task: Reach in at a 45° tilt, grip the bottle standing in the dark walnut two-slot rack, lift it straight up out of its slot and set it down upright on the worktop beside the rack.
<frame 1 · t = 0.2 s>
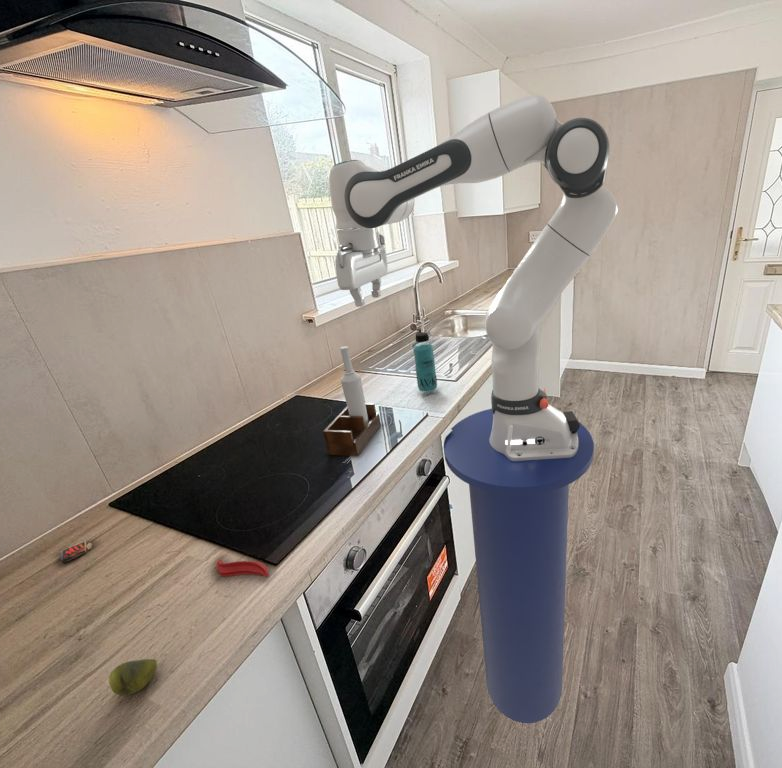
hand: (368, 301, 100), 36 cm above the worktop, tool pointing down, fingers open, 8 cm apart
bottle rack: (356, 439, 112), on the worktop
cayenne pepper: (241, 570, 73), on the worktop
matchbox: (77, 552, 81), on the worktop
bottle: (362, 432, 115), resting in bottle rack
olive green oval lump: (141, 686, 56), on the worktop
beverage bottle: (428, 392, 136), on the worktop
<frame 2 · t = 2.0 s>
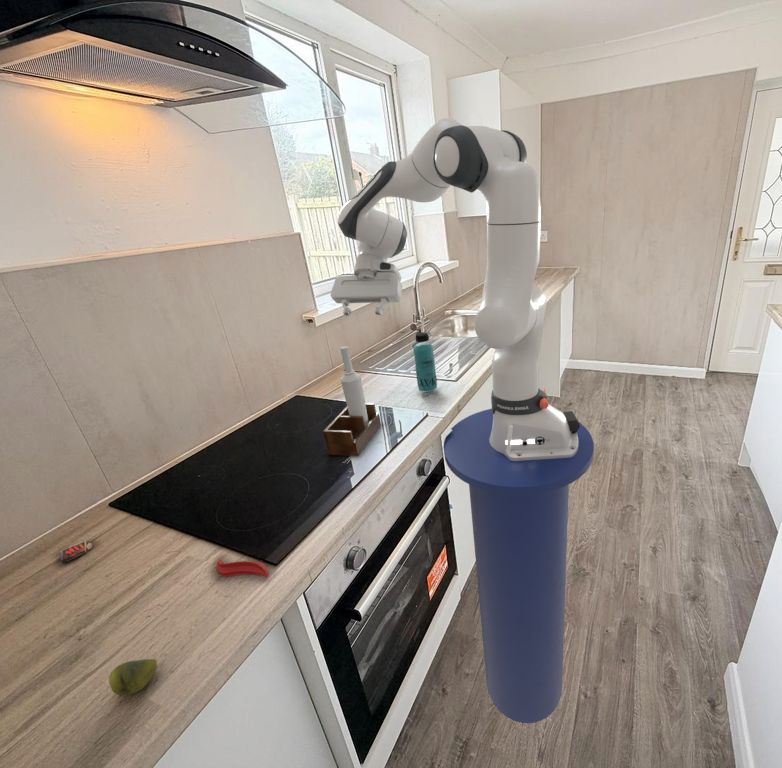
hand: (362, 314, 114), 30 cm above the worktop, tool tilted 45°, fingers open, 8 cm apart
nothing on the worktop moved.
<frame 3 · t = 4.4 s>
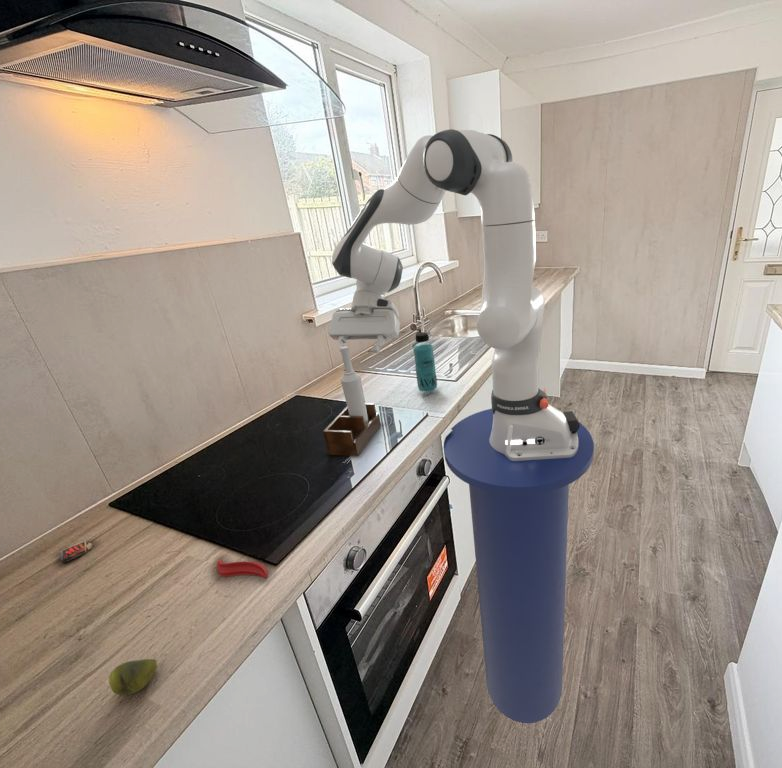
hand: (359, 352, 113), 21 cm above the worktop, tool tilted 45°, fingers open, 8 cm apart
nothing on the worktop moved.
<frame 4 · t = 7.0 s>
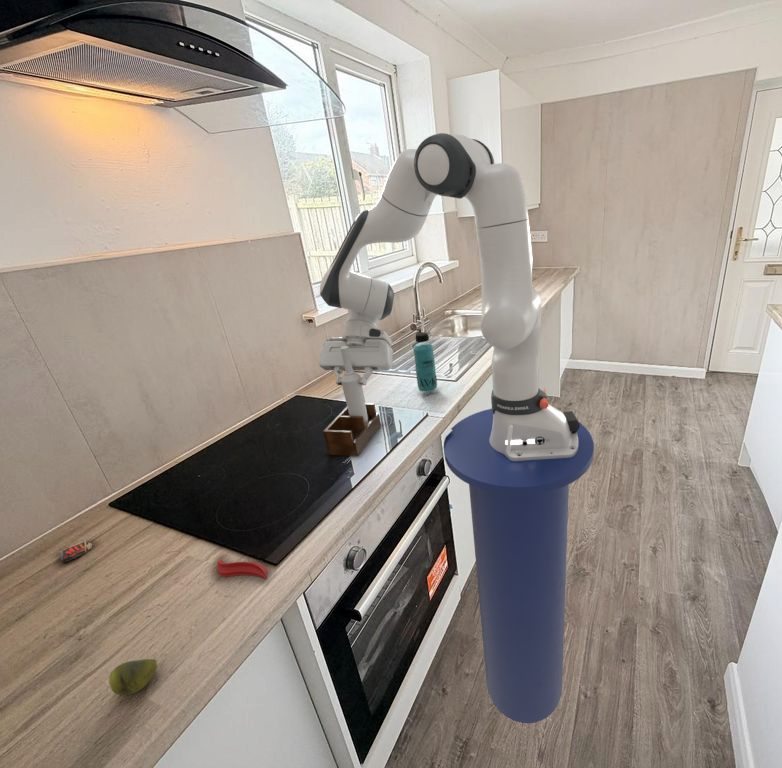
hand: (350, 384, 108), 15 cm above the worktop, tool tilted 45°, fingers closed on bottle, 5 cm apart
bottle: (362, 432, 115), resting in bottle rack, touching gripper
everything else where it was.
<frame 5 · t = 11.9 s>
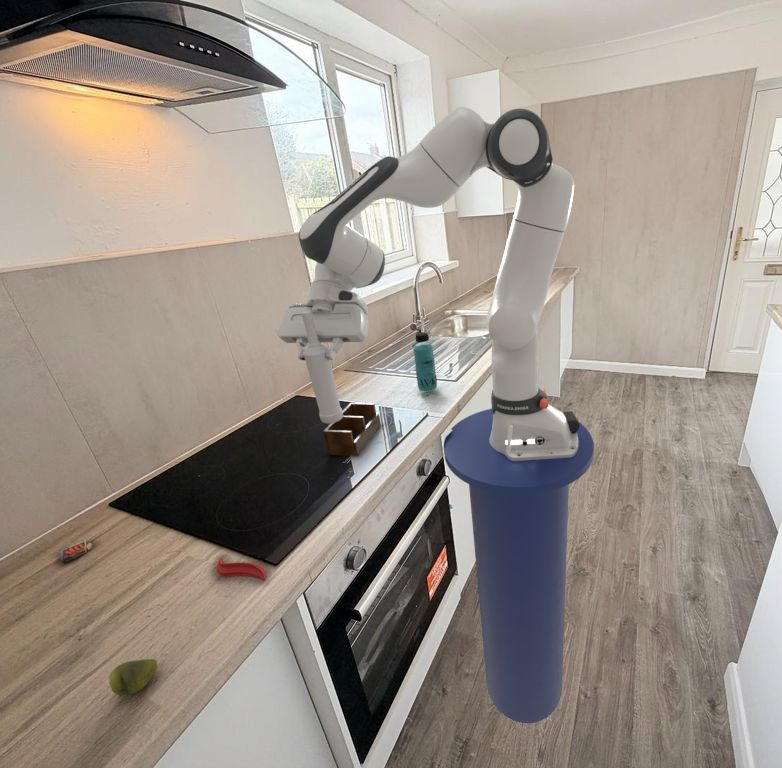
hand: (316, 359, 88), 28 cm above the worktop, tool tilted 45°, fingers closed on bottle, 5 cm apart
bottle: (332, 419, 95), point 13 cm above the worktop, touching gripper
everything else where it was.
when the fingers open (15 cm above the worktop, at t = 16.7 s): bottle stays where it is, on the worktop.
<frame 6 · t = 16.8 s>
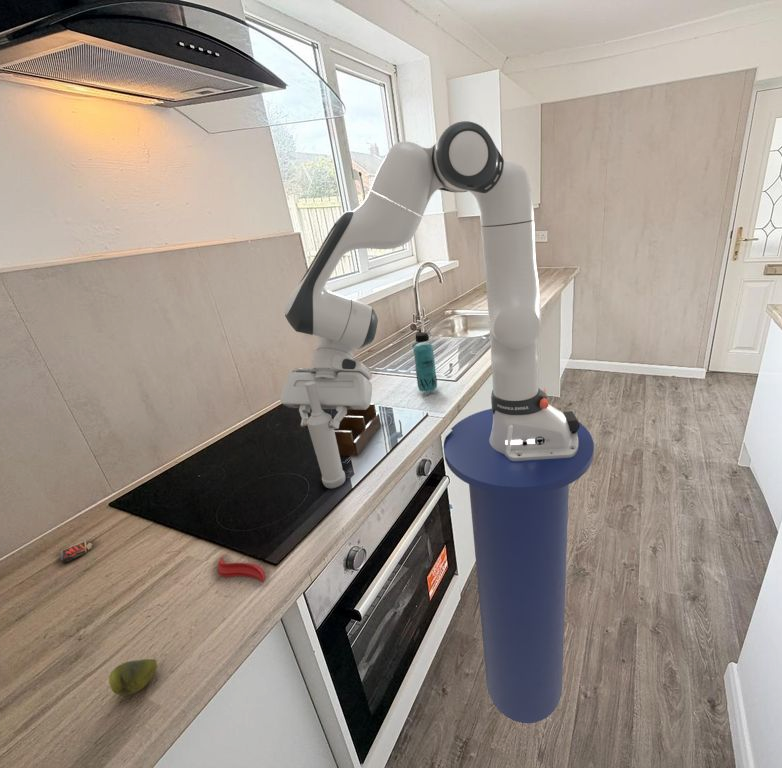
hand: (319, 427, 88), 15 cm above the worktop, tool tilted 45°, fingers open, 5 cm apart
bottle: (334, 482, 95), on the worktop
everything else where it was.
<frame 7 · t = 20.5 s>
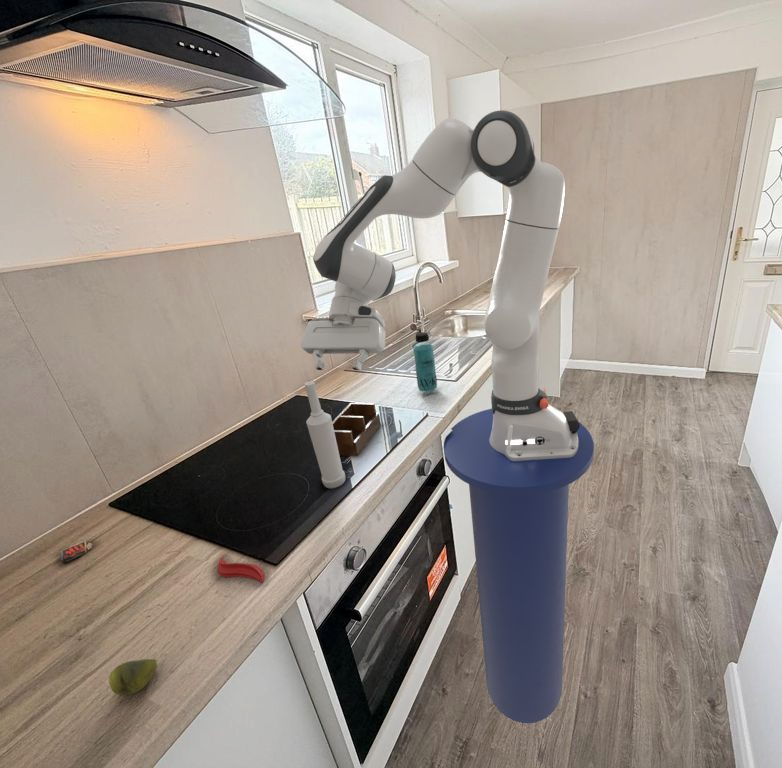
hand: (337, 369, 96), 23 cm above the worktop, tool tilted 45°, fingers open, 8 cm apart
nothing on the worktop moved.
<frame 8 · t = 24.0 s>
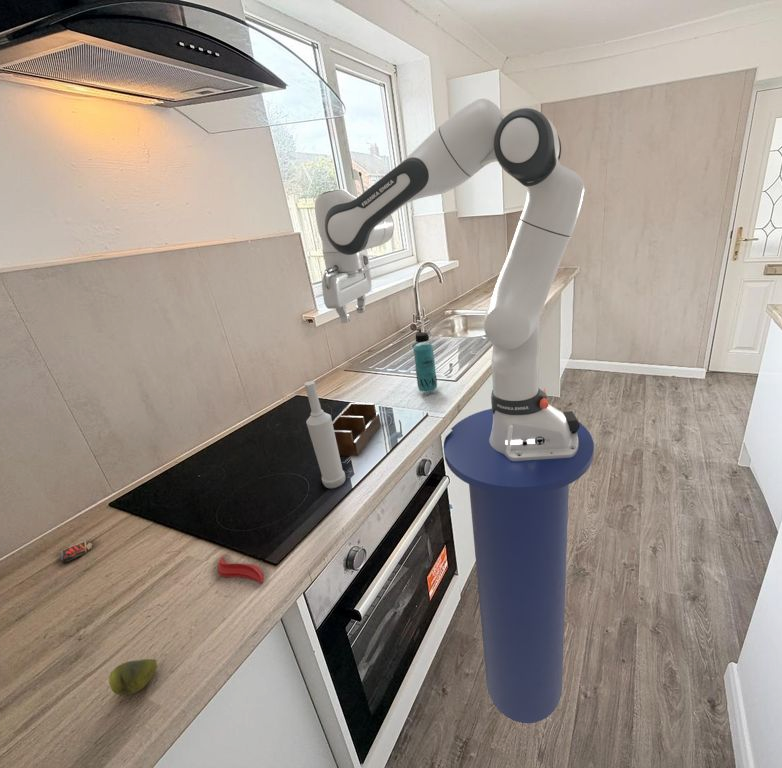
hand: (354, 317, 108), 31 cm above the worktop, tool pointing down, fingers open, 8 cm apart
nothing on the worktop moved.
at the end: bottle inside the target area (0.2 cm from its centre), on the worktop; bottle tilted 0°; the gripper is holding nothing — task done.
